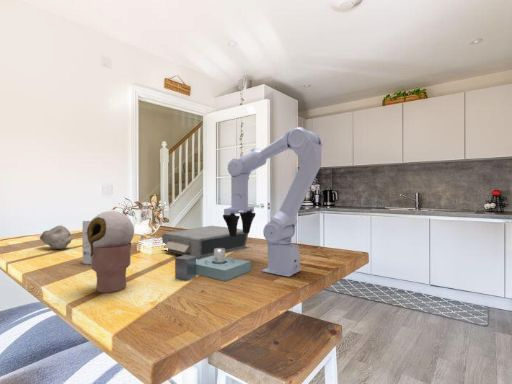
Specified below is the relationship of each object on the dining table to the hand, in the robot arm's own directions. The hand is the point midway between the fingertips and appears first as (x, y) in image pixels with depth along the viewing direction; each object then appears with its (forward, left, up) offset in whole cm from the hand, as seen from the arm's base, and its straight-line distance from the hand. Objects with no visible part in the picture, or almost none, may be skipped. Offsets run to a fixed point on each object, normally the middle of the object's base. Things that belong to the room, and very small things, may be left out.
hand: (239, 234), depth 99 cm
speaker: (+26, -9, -10) cm, 30 cm away
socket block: (-1, +11, -10) cm, 15 cm away
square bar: (+3, +21, -10) cm, 24 cm away
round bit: (-1, +11, -10) cm, 15 cm away
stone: (+79, +25, -10) cm, 84 cm away
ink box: (+41, +27, -10) cm, 50 cm away
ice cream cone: (+12, +38, -10) cm, 41 cm away
